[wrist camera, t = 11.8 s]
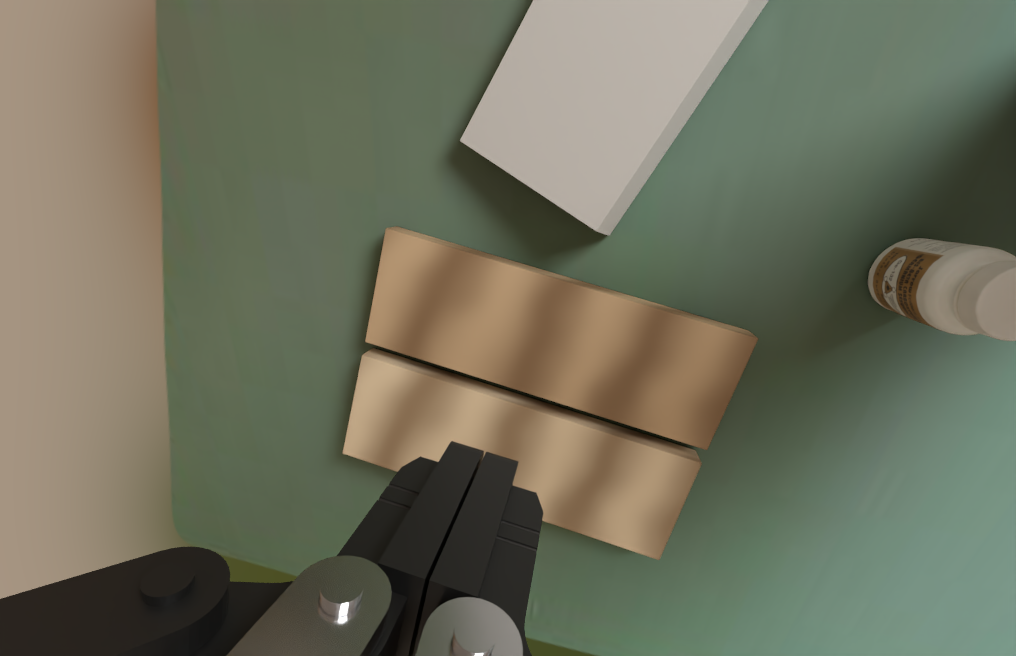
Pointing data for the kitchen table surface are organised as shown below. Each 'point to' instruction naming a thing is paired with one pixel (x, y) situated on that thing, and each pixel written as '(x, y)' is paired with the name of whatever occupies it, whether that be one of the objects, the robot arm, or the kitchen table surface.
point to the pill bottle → (948, 286)
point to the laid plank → (556, 337)
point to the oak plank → (525, 449)
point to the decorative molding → (602, 95)
